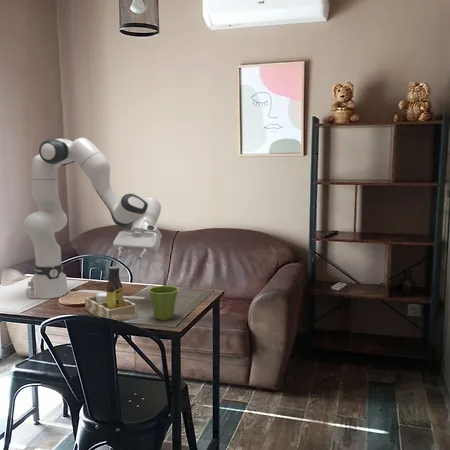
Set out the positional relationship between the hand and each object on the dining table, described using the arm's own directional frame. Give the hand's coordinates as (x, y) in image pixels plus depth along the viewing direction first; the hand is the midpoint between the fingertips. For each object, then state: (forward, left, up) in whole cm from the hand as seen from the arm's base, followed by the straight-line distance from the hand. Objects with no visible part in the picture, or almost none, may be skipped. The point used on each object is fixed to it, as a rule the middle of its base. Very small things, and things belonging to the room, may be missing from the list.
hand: (130, 257), depth 206 cm
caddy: (0, -10, -21) cm, 24 cm away
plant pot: (+18, +4, -22) cm, 29 cm away
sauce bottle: (+5, -10, -22) cm, 25 cm away
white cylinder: (-5, -10, -22) cm, 24 cm away
